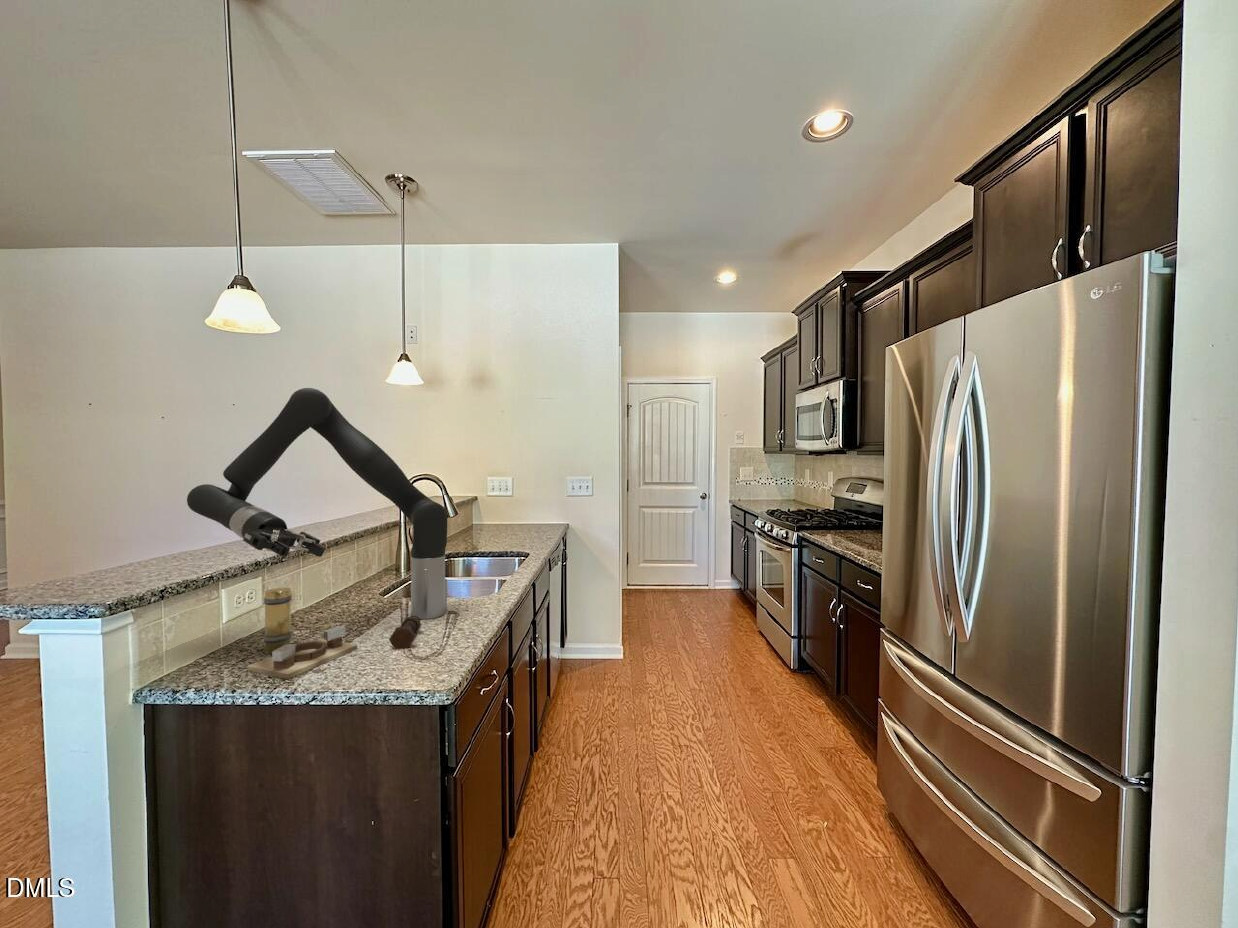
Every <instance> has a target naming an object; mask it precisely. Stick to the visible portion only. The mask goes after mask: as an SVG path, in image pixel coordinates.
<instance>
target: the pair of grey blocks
mask: <svg viewBox="0 0 1238 928" xmlns="http://www.w3.org/2000/svg"><path fill="white" fill-rule="evenodd" d="M340 637H342V638H343V637H346V627H345V626H342V625H339V626H335V627H333V628H328V629H325V630H323V639H324V640H326V641H330V640H333V639H336V638H340ZM295 645H296V644H292V643H291V644H286V645H284V646H282V647H280V648H278V649H276V650H274V651H272V653H271V655H272V656H271V657H272V661H283V660H285V659H287V658H288V657H290V656H292V655H294V654H295Z"/></svg>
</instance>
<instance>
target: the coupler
mask: <svg viewBox="0 0 1238 928" xmlns="http://www.w3.org/2000/svg"><path fill="white" fill-rule="evenodd" d="M291 589H292V588H291V587H275V588H271V589H268V590H266V591H264V597H263V604H264V635H263V643H264V653H266V652H267V653H266V654H272V651H274V650H276V649H278V648H280V647H282V646H284V645H286V644H292V642H291V641H292V639H291V638H292V637H293V636H292V634H293V631H292V630H291V625H292V622H291V621H292V619H291V618H292V617H291V616H292V614H291V612H292V611H291V610H292V607H291V606H292V605H291V604H292V602H291V601H293V600H292V599H293V594H292V592H291V591H292V590H291Z"/></svg>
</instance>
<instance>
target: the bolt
mask: <svg viewBox="0 0 1238 928" xmlns="http://www.w3.org/2000/svg"><path fill="white" fill-rule="evenodd" d="M421 626H422V622H421V619H420V618H418V617H417V616H411V615H410V616H406V617H405V618H404V619H403V622H402V623H401V624H400V626H396V627H395V629H394V631H392V632H393V633H392V634H391V635H390V637H389V642H390V644H391V646H392V648H393V649H395V650H405V649H409V648H411V645H412V644H413V642H414V640H415V639H416V637H417V635H416V634H417V632H418V631H419V629H420V628H421Z"/></svg>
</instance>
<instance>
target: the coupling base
mask: <svg viewBox="0 0 1238 928" xmlns="http://www.w3.org/2000/svg"><path fill="white" fill-rule="evenodd" d="M357 649H358V644H355V643H351V642H343V637H340V638H336V639H333V640H330V641H326V640H324V638H322V637H321V638H317V639H314V640H312V641H307V642H300V643H296V644H295V654H294V655H292V656H290V657H288V658H287V659H285V660H283V661H272V656H270V657H268V658H267V657H266V658H264V659H262V660H258V661H257V662H254V663H251V664H248V665H247V666H246V667H247V669H246V671H247V670H248V672H254V673H256V674H257V673H258V674H261V675H267V676H271V677H276V678H280V679H284V678H285V680H289V679H292V678H294V677H297V676H299V675H301V674H303V673H305V672H308V671H310V670H312V669H315V668H317V667H319V666H321V665H324V664H326V663H328V662H330V661H332V660H335V659H337V658H340V657H342V656H344V655H346V654H349V653H351V652H354V651H356V650H357Z"/></svg>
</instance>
